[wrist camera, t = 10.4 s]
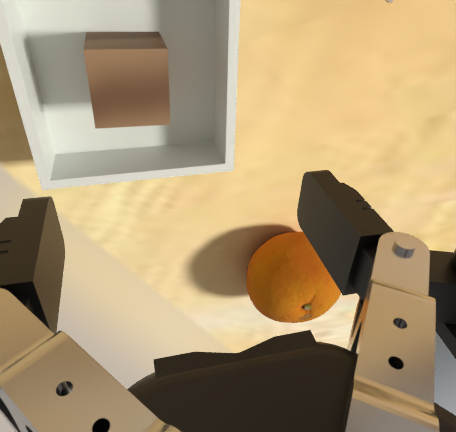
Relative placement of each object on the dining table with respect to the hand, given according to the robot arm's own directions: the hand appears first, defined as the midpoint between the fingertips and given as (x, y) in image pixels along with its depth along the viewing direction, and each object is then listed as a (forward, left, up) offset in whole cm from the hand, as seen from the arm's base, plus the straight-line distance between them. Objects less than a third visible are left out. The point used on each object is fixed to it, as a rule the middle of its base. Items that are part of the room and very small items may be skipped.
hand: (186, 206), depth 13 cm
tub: (+1, -1, -22) cm, 22 cm away
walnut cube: (+1, -1, -21) cm, 21 cm away
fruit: (+23, +14, -22) cm, 35 cm away
